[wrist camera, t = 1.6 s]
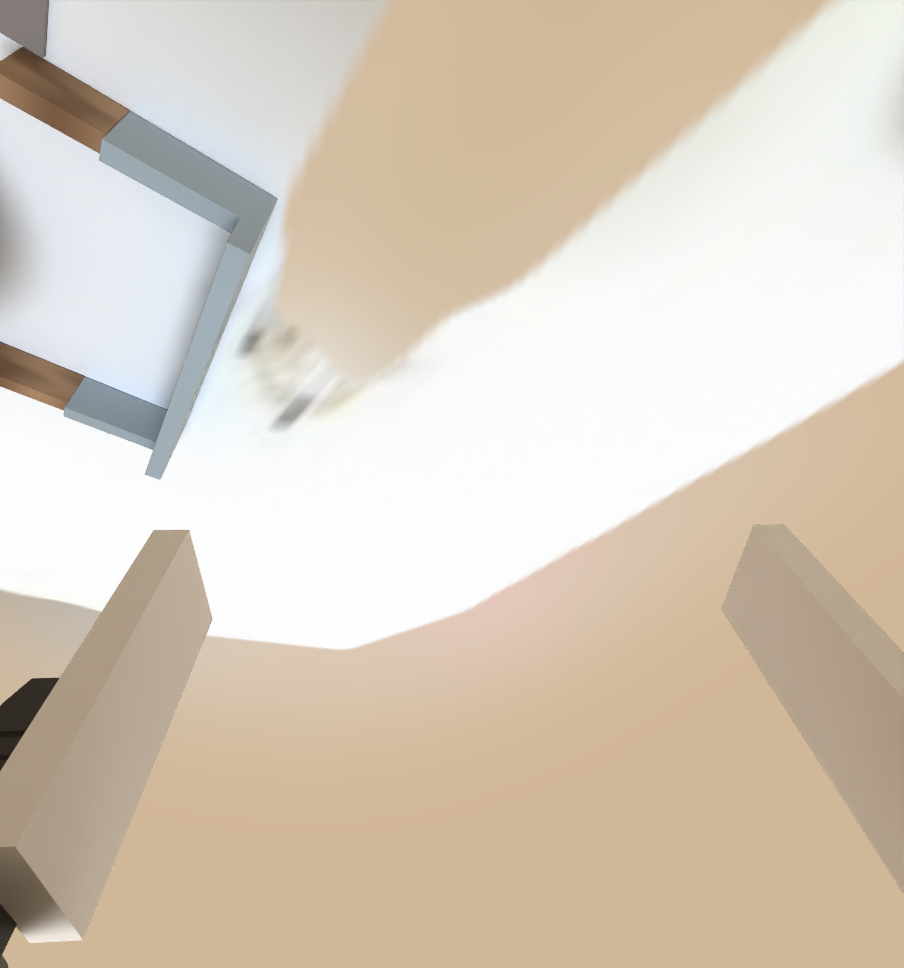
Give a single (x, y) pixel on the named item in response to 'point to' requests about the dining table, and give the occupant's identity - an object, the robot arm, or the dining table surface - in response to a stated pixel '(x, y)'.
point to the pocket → (246, 217)
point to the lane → (86, 122)
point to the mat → (25, 23)
